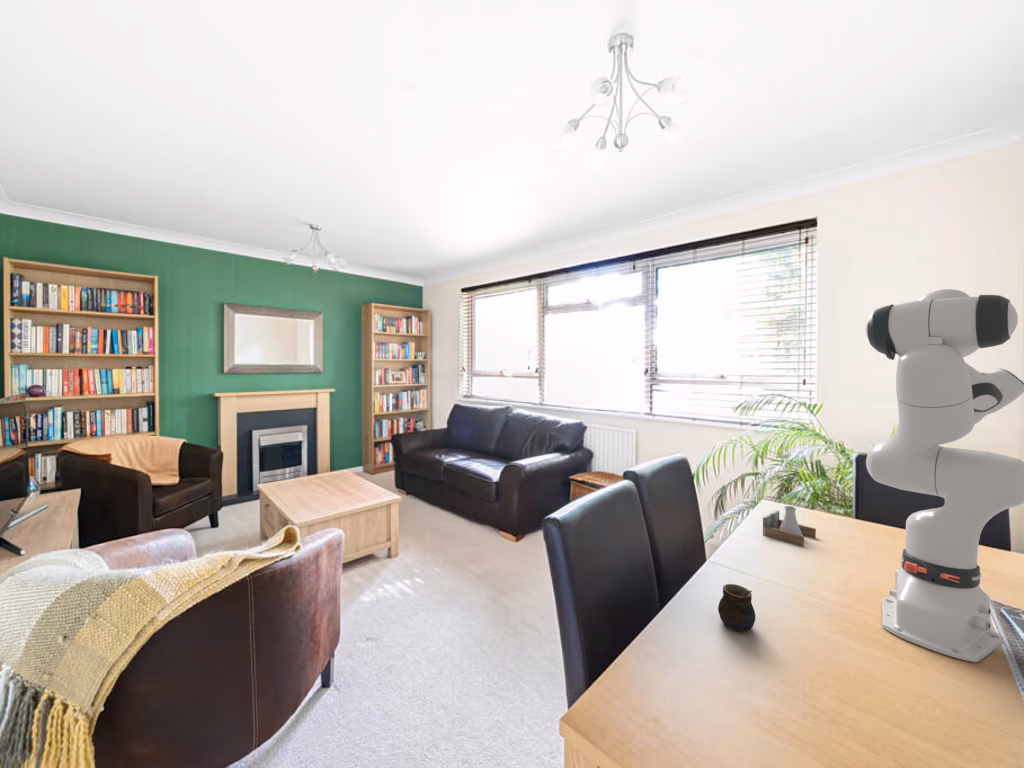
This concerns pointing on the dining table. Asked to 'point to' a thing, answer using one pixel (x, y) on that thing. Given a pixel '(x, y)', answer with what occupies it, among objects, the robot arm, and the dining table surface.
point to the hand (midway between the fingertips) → (902, 446)
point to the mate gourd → (737, 608)
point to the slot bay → (771, 530)
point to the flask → (790, 521)
